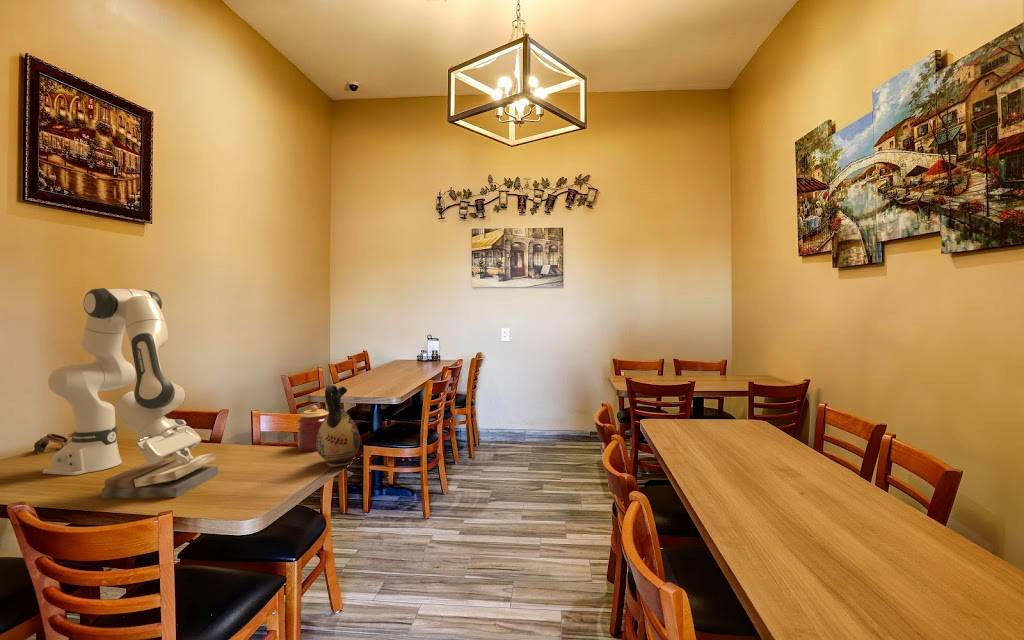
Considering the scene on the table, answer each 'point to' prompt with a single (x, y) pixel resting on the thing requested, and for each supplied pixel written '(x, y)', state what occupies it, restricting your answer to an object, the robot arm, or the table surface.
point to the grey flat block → (125, 484)
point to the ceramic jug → (337, 431)
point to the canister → (310, 428)
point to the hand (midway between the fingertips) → (189, 461)
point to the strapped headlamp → (44, 442)
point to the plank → (173, 470)
